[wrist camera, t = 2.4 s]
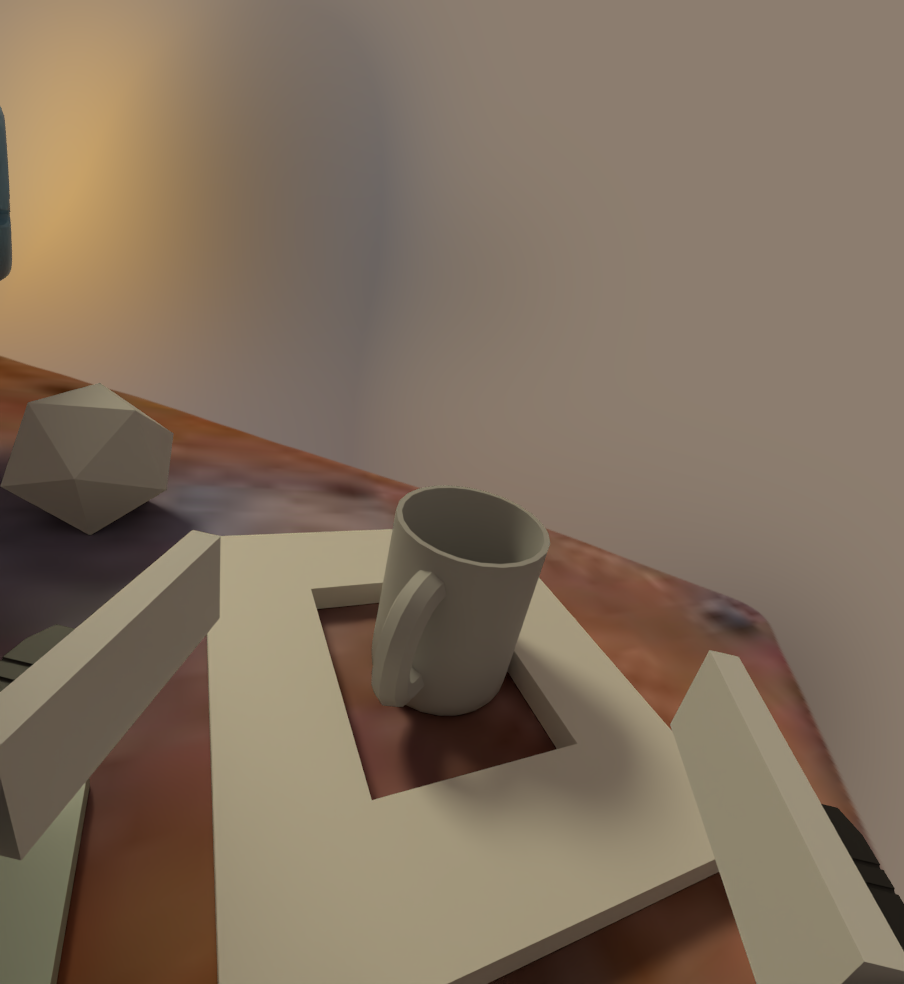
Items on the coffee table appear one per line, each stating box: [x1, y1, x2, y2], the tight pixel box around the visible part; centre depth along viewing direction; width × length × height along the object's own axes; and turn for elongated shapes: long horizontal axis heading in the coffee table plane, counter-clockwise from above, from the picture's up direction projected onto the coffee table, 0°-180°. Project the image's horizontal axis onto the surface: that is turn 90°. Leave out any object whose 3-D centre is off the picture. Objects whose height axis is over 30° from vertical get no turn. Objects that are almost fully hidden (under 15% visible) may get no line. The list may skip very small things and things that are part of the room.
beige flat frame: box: [207, 529, 719, 984], centre depth 27 cm, size 24×20×2 cm
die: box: [0, 383, 173, 535], centre depth 32 cm, size 8×9×10 cm
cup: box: [372, 486, 550, 716], centre depth 25 cm, size 7×10×9 cm
